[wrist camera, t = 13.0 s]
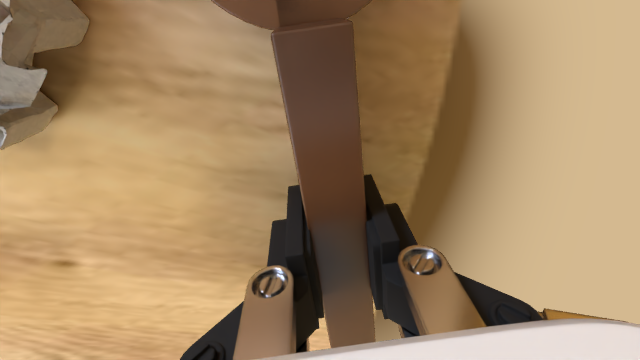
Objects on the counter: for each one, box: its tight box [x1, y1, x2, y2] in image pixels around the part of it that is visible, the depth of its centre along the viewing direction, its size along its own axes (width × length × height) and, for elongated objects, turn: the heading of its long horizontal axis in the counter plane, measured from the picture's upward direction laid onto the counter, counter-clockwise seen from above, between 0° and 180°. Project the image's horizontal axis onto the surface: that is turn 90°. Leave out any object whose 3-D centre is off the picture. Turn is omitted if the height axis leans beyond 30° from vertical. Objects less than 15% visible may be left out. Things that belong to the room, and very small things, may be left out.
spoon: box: [211, 0, 375, 348], centre depth 10 cm, size 20×6×3 cm, turn 8°
